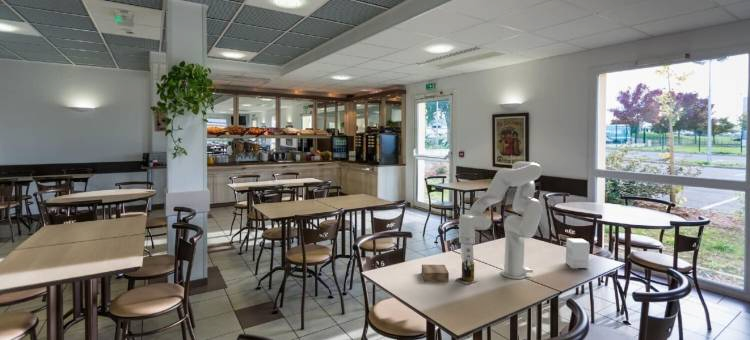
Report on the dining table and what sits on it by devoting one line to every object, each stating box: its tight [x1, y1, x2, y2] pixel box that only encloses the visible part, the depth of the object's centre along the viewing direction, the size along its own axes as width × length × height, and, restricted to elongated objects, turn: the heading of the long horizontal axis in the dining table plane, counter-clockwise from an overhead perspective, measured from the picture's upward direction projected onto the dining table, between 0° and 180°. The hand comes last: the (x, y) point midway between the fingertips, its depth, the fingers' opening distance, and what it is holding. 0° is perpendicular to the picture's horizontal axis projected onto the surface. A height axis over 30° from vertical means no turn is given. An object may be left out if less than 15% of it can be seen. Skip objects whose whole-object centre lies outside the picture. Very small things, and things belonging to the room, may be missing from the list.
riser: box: [421, 264, 450, 283], centre depth 194 cm, size 12×12×5 cm
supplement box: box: [565, 238, 590, 269], centre depth 212 cm, size 9×9×15 cm
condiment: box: [455, 256, 478, 285], centre depth 189 cm, size 7×8×12 cm
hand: (466, 273), depth 190 cm, fingers closed on condiment, 6 cm apart
